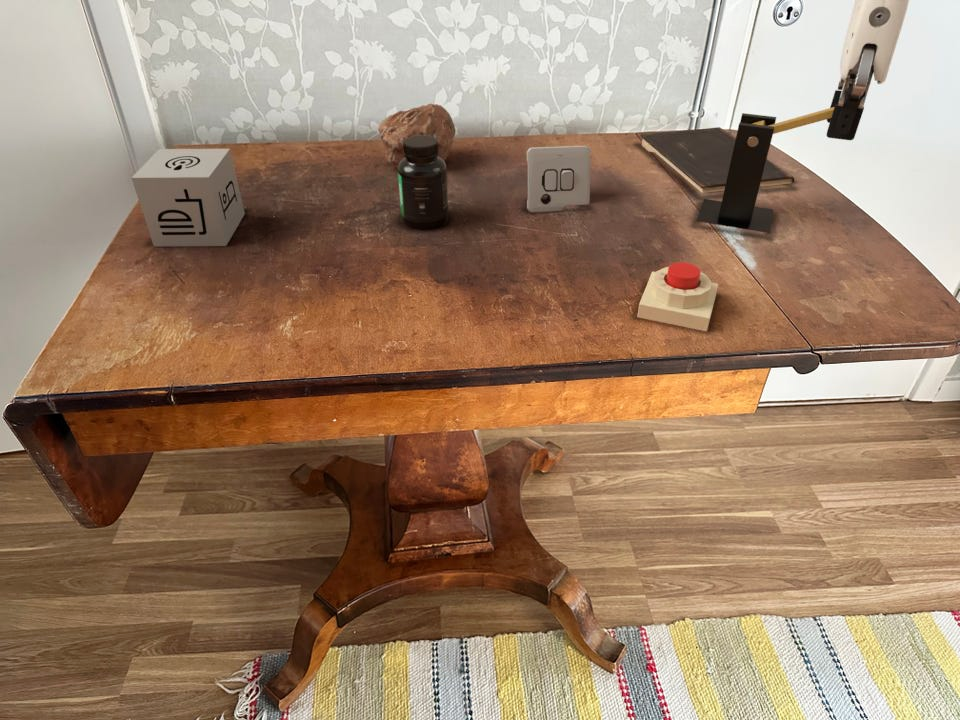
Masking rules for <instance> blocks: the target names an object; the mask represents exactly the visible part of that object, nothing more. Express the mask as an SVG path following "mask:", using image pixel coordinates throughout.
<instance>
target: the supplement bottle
mask: <svg viewBox="0 0 960 720" xmlns="http://www.w3.org/2000/svg"><path fill="white" fill-rule="evenodd" d="M403 155H404V157H405V158H403V159H402V160H401V161H400V163H399V165H398V169H397V180H398V181H397V182H398V192H399V204H400V215H401V222H402V224H403V225H404V226H405V227H407V228H409V229H412V230H418V231H428V230H436V229H438V228H441V227H443V226H445V225H446V224H447V223H448V221H449V197H448V169H447V167H448V166H447V164H446V161H444V160H443V159H442V158H440V157H439V156H438V155H439V146H438V140H437V138H435V137H432V136H427V135H417V136H411V137H408V138H406V139H405V140H404V141H403Z"/></svg>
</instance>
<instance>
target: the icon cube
mask: <svg viewBox="0 0 960 720" xmlns="http://www.w3.org/2000/svg"><path fill="white" fill-rule="evenodd" d="M131 180H132V183H133V187H134V190H135V193H136V196H137V199H138V203H139V206H140V208H141V212H142V215H143V217H144V221H145V224H146V226H147V230H148V233H149V236H150V239H151V243H152V245H153V246H152V247H154V248H155V247H157V248H158V247H227V245H228V243H229V242H230V240H231V239H232V238H233V235H234V233H235V232H236V230H237V228H238V227H239V225H240V223H241V221H242V220H243V218H244V217H245V215H246V212H245V208H244V204H243V199H242V196H241V190H240V186H239V181H238V177H237V173H236V168H235V165H234V159H233V156H232V151H231V148H158V150H156V152H154V154H152V156H151V157H150V158H148V160H147V161H146V162H145V163H144V164H143V165H142V166H141V167H140V168H139V170H137V171H136V172H135V174H133V176H132V177H131Z"/></svg>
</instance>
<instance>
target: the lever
mask: <svg viewBox="0 0 960 720" xmlns="http://www.w3.org/2000/svg"><path fill="white" fill-rule="evenodd" d="M833 111H834V107H832V108H830V107H829V108H826V109H821V110H818V111H815V112H811V113H808V114H805V115H801V116H797V117H793V118H791V119H786V120H782V121H779V122H775V124H772V125H769V126H772V127H774V132H773V135H774V134H778V133H783V132H787V131H789V130H792V129H796V128H800V127H804V126H807V125H811V124H815V123H818V122H821V121H825V120H826V121H827V119H829V118H831V117H832V114H833ZM753 124H756V125H764V126H766V125H765V121H764V120H763V121H759V122H756V123H753Z"/></svg>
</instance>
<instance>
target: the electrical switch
mask: <svg viewBox="0 0 960 720" xmlns="http://www.w3.org/2000/svg"><path fill="white" fill-rule="evenodd" d="M591 157H592V151H591V148H590V147H589V146H588V145H564V146H562V145H561V146H537V147H536V146H535V147H529V148H528V149H527V150H526V162H527V199H526V209H527V211H528V212H529V213H548V212H549V213H550V212H562V211H563V210H564V209H565V207H566V206H584V205H586V206H587V205H590V199H591V197H590V196H591V159H592V158H591ZM545 196H547V198H546V200H545V201H544V200H543V197H545Z"/></svg>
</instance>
